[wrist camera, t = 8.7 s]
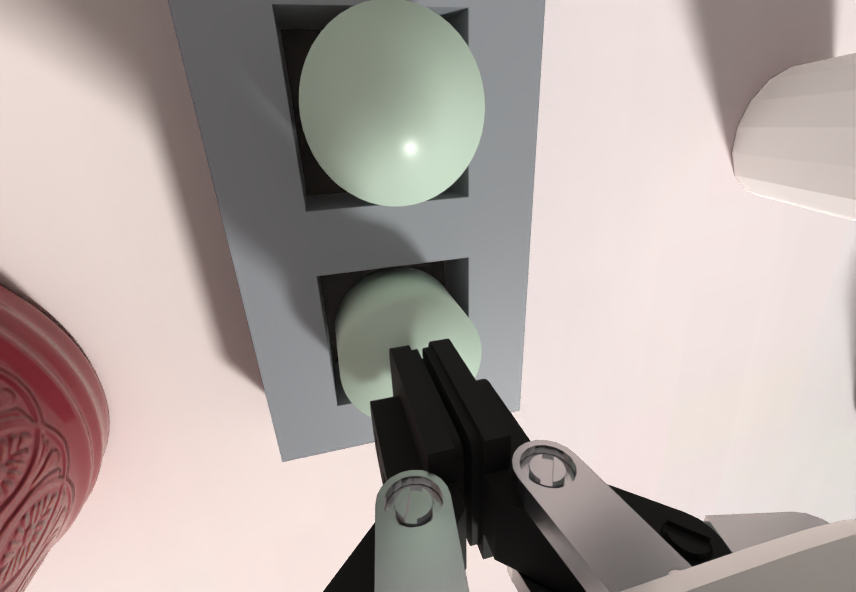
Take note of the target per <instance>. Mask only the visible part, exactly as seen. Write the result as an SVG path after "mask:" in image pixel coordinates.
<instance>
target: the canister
mask: <svg viewBox="0 0 856 592" xmlns="http://www.w3.org/2000/svg"><path fill="white" fill-rule="evenodd" d="M109 423H110V422H109V410H108V405H107V400H106V397H105V393H104V390H103V388H102V385H101V383H100V380H99V378H98V376H97V374H96V372H95V371H94V369H93V367H92V365H91V364H90V362H89V361H88V359H87V358H86V356H85V355H84V354H83V352H82V351H81V350H80V349H79V347H78V346H77V345H76V344H75V343H74V342H73V340H72V339H71V338H70V337H69V336H68V335H67V334H66V333H65V332H64V331H63V330H62V329H61V328H60V327H59V326H58V325H57V324H55V323H54V322H53V321H52V320H51V319H50V318H48V317H47V316H46V315H45V314H44V313H42V312H41V311H39V310H38V309H37V308H35V307H34V306H33V305H31V304H30V303H28V302H27V301H25V300H24V299H22V298H21V297H19V296H18V295H16V294H14V293H13V292H11V291H9V290H8V289H6V288H4V287H2V286H0V592H24V591H25V589H26V588H27V586H28V585H29V583H30V581H31V580H32V578H33V576H34V575H35V573H36V572H37V570H38V568H39V567H40V565H41V564H42V562H43V560H44V559H45V557H46V555H47V554H48V552H49V551H50V549H51V548H52V547H53V546H54V545H55V544H56V543H57V542H58V541H59V540H60V539H61V537H62V536H63V535H64V534H65V533H66V532H67V530H68V529H69V528H70V527H71V525H72V524H73V522H74V521H75V519H76V518H77V516H78V514H79V512H80V511H81V509H82V507H83V505H84V503H85V502H86V501H87V499H88V497H89V495H90V494H91V492H92V490H93V488H94V485H95V483H96V480H97V478H98V474H99V471H100V467H101V462H102V458H103V455H104V453H105V449H106V446H107V442H108V436H109Z"/></svg>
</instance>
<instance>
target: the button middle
mask: <svg viewBox="0 0 856 592" xmlns="http://www.w3.org/2000/svg"><path fill="white" fill-rule="evenodd" d="M299 110H300V118H301V123H302V127H303V131H304V134H305V137H306V140H307V143H308V145H309V147H310V149H311V151H312V153H313V155H314V157H315V158H316V160H317V161H318V163H319V164H320V166H321V167H322V169H323V170H324V171H325V172H326V173H327V175H328V176H329V177H330V178H331V179H332V180H333V181H334V182H336V183H337V184H338V185H339V186H340V187H342V188H343V189H344V190H346V191H347V192H348V193H350V194H352V195H354V196H356V197H358V198H359V199H362V200H365V201H367V202H370V203H374V204H378V205H383V206H392V207H393V206H408V205H414V204H418V203H421V202H424V201H427V200H429V199H431V198H433V197H435V196H437V195H438V194H440V193H442V192H443V191H445V190H446V189H447V188H448V187H450V186H451V185H452V184H453V183H454V182H455V181H456V180H457V179H458V178H459V177H460V176H461V175H462V173H463V172H464V171H465V169H466V168H467V167H468V165H469V163H470V162H471V160H472V158H473V156H474V154H475V152H476V149H477V147H478V145H479V141H480V138H481V135H482V130H483V124H484V116H485V97H484V89H483V83H482V79H481V75H480V72H479V68H478V66H477V63H476V61H475V59H474V56H473V54H472V53H471V51H470V49H469V47H468V45H467V44H466V42H465V41H464V40H463V38H462V37H461V35H460V34H459V33H458V32H457V31H456V30H455V29H454V28H453V27H452V25H451V24H449V23H448V22H447V21H446V20H445V19H443V18H442V17H441V16H440V15H438V14H437V13H435V12H433V11H432V10H430V9H428V8H426V7H424V6H422V5H419V4H417V3H414V2H410V1H406V0H370V1H366V2H362V3H360V4H357V5H355V6H352V7H350V8H349V9H347V10H345V11H344V12H342V13H340V14H339V15H338V16H336V17H335V18H334V19H333V20H332V21H331V22H329V23H328V24H327V25H326V27H325V28H324V29H323V30H322V31H321V32H320V34H319V35H318V37H317V38H316V40H315V41H314V43H313V44H312V46H311V48H310V50H309V53H308V55H307V57H306V59H305V63H304V66H303V69H302V73H301V79H300V85H299Z"/></svg>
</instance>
